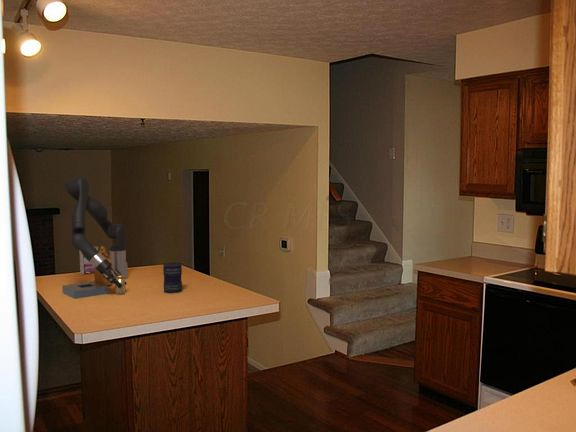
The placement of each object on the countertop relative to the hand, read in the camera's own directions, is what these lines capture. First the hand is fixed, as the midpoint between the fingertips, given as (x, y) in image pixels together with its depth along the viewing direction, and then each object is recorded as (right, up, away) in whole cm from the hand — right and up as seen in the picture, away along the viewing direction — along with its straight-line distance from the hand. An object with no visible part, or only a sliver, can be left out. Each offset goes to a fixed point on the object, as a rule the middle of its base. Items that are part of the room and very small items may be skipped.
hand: (123, 285), depth 281 cm
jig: (-21, -4, +2) cm, 21 cm away
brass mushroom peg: (-2, -4, 0) cm, 5 cm away
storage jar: (+25, -4, +7) cm, 26 cm away
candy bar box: (-40, 0, +61) cm, 73 cm away
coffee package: (-19, -3, +24) cm, 31 cm away
